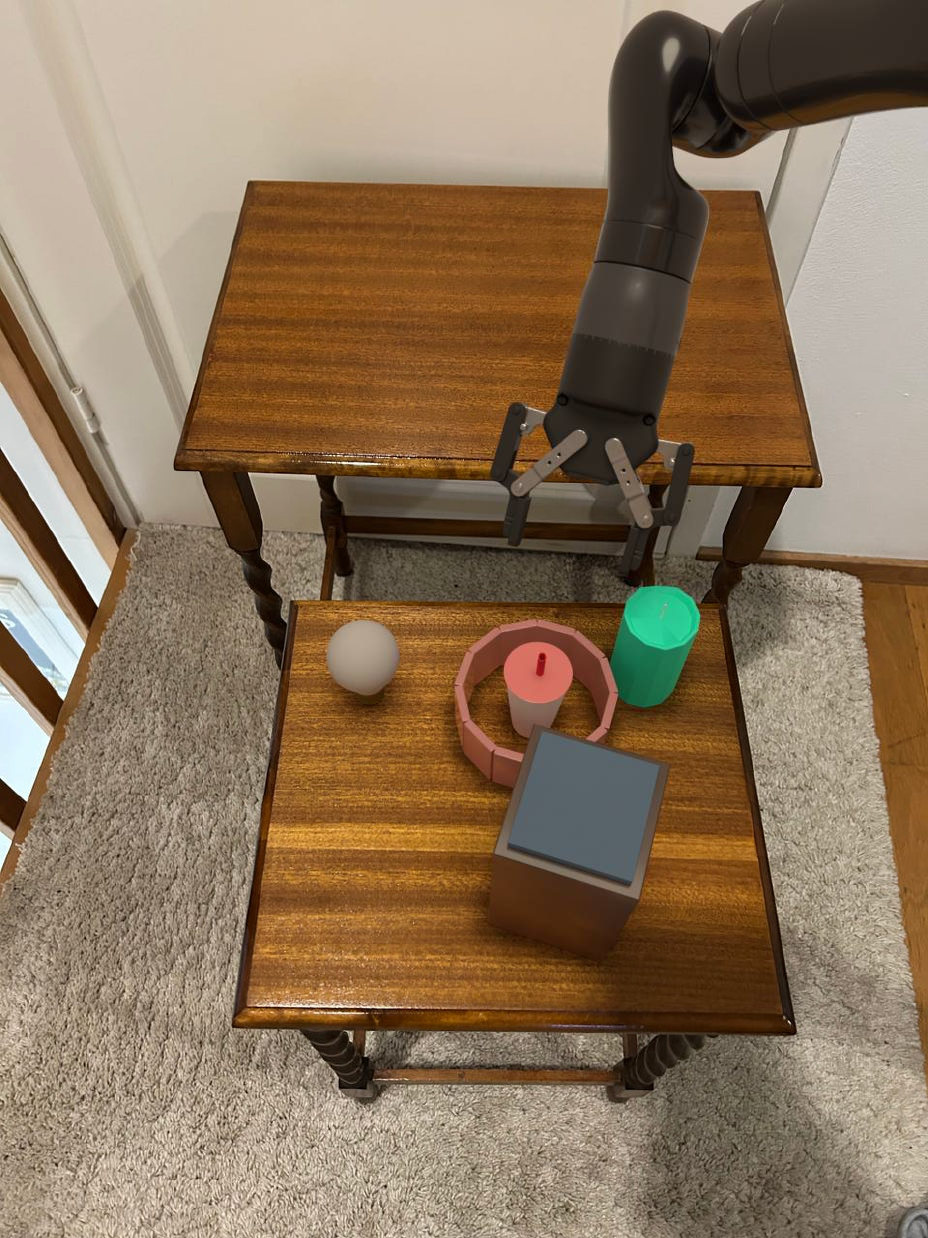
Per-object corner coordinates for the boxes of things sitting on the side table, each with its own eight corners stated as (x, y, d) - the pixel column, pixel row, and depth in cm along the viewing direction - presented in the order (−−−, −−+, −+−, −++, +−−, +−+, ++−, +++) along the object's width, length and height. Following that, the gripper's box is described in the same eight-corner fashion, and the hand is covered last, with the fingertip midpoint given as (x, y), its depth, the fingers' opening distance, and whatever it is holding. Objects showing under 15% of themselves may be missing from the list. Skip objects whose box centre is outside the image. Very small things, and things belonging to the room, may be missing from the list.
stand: (629, 850, 74) (671, 763, 59) (602, 963, 70) (639, 901, 55) (520, 816, 76) (533, 723, 60) (487, 924, 71) (492, 853, 56)
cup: (554, 756, 78) (566, 693, 68) (492, 739, 79) (496, 673, 69) (569, 702, 81) (584, 632, 71) (510, 685, 82) (516, 614, 72)
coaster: (657, 770, 59) (660, 765, 58) (630, 885, 55) (632, 882, 54) (541, 735, 60) (542, 730, 59) (507, 846, 56) (507, 842, 56)
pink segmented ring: (621, 677, 82) (631, 644, 77) (585, 810, 76) (594, 783, 71) (483, 638, 84) (484, 603, 79) (437, 765, 78) (434, 735, 73)
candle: (686, 666, 83) (716, 593, 73) (658, 719, 80) (685, 651, 70) (624, 636, 84) (646, 560, 74) (595, 687, 82) (613, 616, 72)
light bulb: (391, 734, 80) (381, 680, 71) (326, 715, 81) (309, 659, 72) (414, 675, 82) (407, 617, 74) (352, 657, 83) (338, 597, 75)
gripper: (519, 314, 64) (467, 542, 68) (726, 359, 61) (659, 593, 66) (535, 323, 71) (488, 530, 75) (722, 365, 69) (662, 575, 73)
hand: (568, 559), depth 70 cm, fingers open, 8 cm apart
